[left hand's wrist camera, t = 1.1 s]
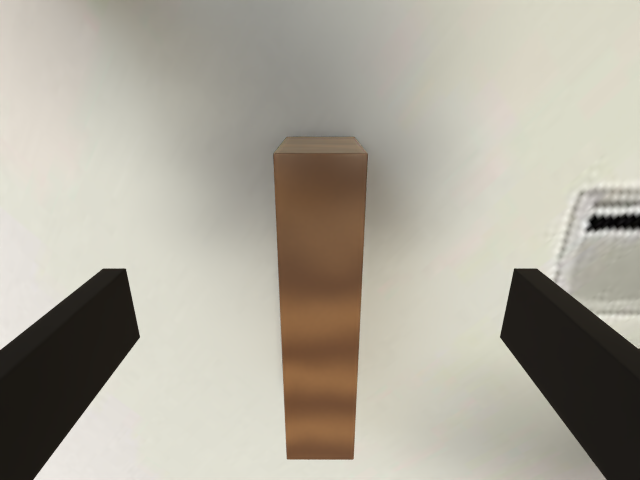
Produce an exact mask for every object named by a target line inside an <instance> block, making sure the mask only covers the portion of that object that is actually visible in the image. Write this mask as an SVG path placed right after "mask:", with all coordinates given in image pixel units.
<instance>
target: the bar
mask: <svg viewBox="0 0 640 480" xmlns="http://www.w3.org/2000/svg"><path fill="white" fill-rule="evenodd" d="M273 159H274V181H275V204H276V226H277V249H278V272H279V294H280V317H281V339H282V362H283V384H284V407H285V429H286V452H287V459H348V460H353V459H354V439H355V418H356V396H357V375H358V354H359V332H360V311H361V289H362V268H363V246H364V225H365V203H366V182H367V160H368V154H367V152H366V151H365V150H364V149H363V147H362V146H361V145H360V143H359V142H358V141H357V140H356V138H355V137H286V138H285V140H284V141H283V142H282V144H281V145H280V146H279V147H278V149H277V150H276V151H275V152H274V154H273Z"/></svg>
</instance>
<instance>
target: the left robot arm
mask: <svg viewBox="0 0 640 480" xmlns="http://www.w3.org/2000/svg"><path fill="white" fill-rule="evenodd" d="M139 338H140V335H139V330H138V325H137V321H136V316H135V311H134V306H133V301H132V296H131V291H130V287H129V282H128V277H127V272H126V269H102V270H101V271H100V272H98V273H97V274H96V275H95V276H93V277H92V278H91V279H89V280H88V281H87V282H86V283H84V284H83V285H82V286H81V287H79V288H78V289H77V290H76V291H74V292H73V293H72V294H71V295H69V296H68V297H67V298H66V299H64V300H63V301H62V302H60V303H59V304H58V305H57V306H55V307H54V308H53V309H52V310H50V311H49V312H48V313H47V314H45V315H44V316H43V317H42V318H40V319H39V320H38V321H36V322H35V323H34V324H33V325H31V326H30V327H29V328H28V329H26V330H25V331H24V332H23V333H21V334H20V335H19V336H18V337H16V338H15V339H14V340H13V341H11V342H10V343H9V344H7V345H6V346H5V347H4V348H2V349H1V350H0V480H33V479H34V478H35V477H36V475H37V474H38V473H39V471H40V470H41V469H42V467H43V466H44V465H45V463H46V462H47V461H48V459H49V458H50V457H51V455H52V454H53V453H54V451H55V450H56V449H57V447H58V446H59V445H60V443H61V442H62V441H63V439H64V438H65V437H66V435H67V434H68V433H69V431H70V430H71V429H72V427H73V426H74V425H75V423H76V422H77V421H78V419H79V418H80V417H81V415H82V414H83V413H84V411H85V410H86V409H87V407H88V406H89V405H90V403H91V402H92V401H93V399H94V398H95V397H96V395H97V394H98V393H99V391H100V390H101V389H102V387H103V386H104V385H105V383H106V382H107V381H108V379H109V378H110V376H111V375H112V374H113V372H114V371H115V370H116V368H117V367H118V366H119V364H120V363H121V362H122V360H123V359H124V358H125V356H126V355H127V354H128V352H129V351H130V350H131V348H132V347H133V346H134V344H135V343H136V342H137V340H138V339H139ZM500 338H501V339H502V340H503V342H504V343H505V344H506V346H507V347H508V348H509V350H510V351H511V352H512V354H513V355H514V356H515V358H516V359H517V360H518V362H519V363H520V364H521V366H522V367H523V368H524V370H525V371H526V372H527V374H528V375H529V376H530V378H531V379H532V381H533V382H534V383H535V385H536V386H537V387H538V389H539V390H540V391H541V393H542V394H543V395H544V397H545V398H546V399H547V401H548V402H549V403H550V405H551V406H552V407H553V409H554V410H555V411H556V413H557V414H558V415H559V417H560V418H561V419H562V421H563V422H564V423H565V425H566V426H567V427H568V429H569V430H570V431H571V433H572V434H573V435H574V437H575V438H576V439H577V441H578V442H579V443H580V445H581V446H582V447H583V449H584V450H585V451H586V453H587V454H588V455H589V457H590V458H591V459H592V461H593V462H594V463H595V465H596V466H597V467H598V469H599V470H600V471H601V473H602V474H603V475H604V477H605V478H606V479H607V480H640V349H638V348H636V347H635V346H634V345H633V344H631V343H630V342H629V341H627V340H626V339H625V338H624V337H622V336H621V335H620V334H619V333H617V332H616V331H615V330H614V329H612V328H611V327H610V326H609V325H607V324H606V323H605V322H604V321H602V320H601V319H600V318H598V317H597V316H596V315H595V314H593V313H592V312H591V311H590V310H588V309H587V308H586V307H585V306H583V305H582V304H581V303H580V302H578V301H577V300H576V299H574V298H573V297H572V296H571V295H569V294H568V293H567V292H566V291H564V290H563V289H562V288H561V287H559V286H558V285H557V284H556V283H554V282H553V281H552V280H551V279H549V278H548V277H547V276H545V275H544V274H543V273H542V272H540V271H539V270H538V269H514V272H513V277H512V282H511V287H510V291H509V296H508V301H507V306H506V311H505V316H504V321H503V325H502V330H501V335H500Z"/></svg>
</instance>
